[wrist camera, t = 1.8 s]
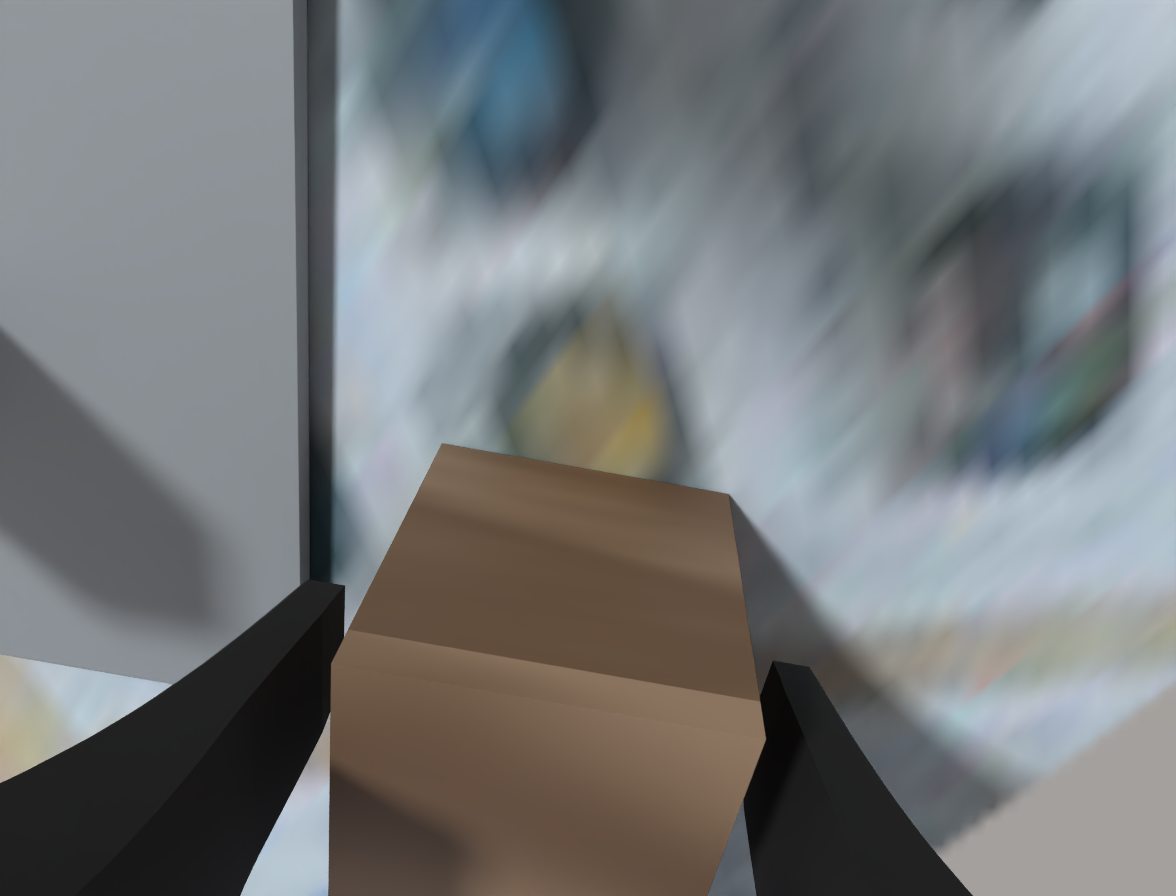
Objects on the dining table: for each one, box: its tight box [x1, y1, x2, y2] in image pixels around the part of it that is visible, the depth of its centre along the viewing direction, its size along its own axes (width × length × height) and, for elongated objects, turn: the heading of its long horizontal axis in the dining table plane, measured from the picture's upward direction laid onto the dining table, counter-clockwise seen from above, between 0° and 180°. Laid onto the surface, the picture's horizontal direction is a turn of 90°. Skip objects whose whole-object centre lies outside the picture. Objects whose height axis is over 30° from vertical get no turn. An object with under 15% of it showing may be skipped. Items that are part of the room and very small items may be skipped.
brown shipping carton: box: [328, 444, 766, 896], centre depth 13 cm, size 5×5×6 cm
